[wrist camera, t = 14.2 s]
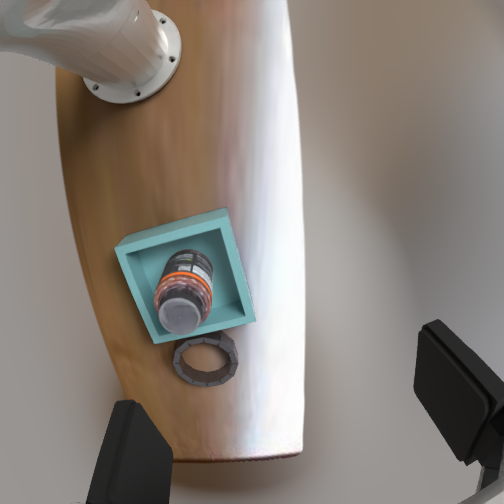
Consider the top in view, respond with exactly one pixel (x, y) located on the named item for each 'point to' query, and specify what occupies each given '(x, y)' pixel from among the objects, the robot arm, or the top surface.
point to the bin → (181, 238)
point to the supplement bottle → (184, 292)
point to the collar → (199, 376)
